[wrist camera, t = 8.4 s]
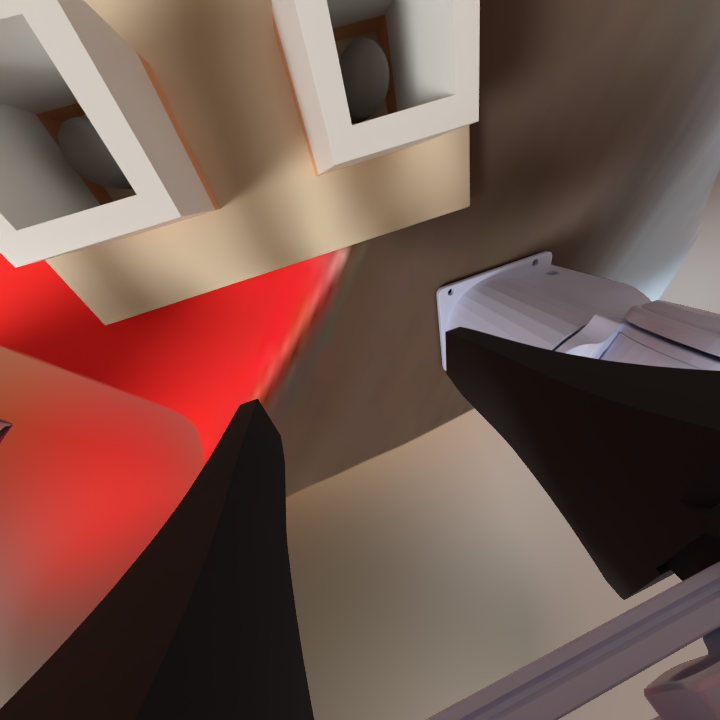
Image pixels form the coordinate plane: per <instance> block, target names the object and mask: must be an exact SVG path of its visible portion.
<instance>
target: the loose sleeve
mask: <svg viewBox="0 0 720 720" xmlns="http://www.w3.org/2000/svg"><path fill="white" fill-rule="evenodd" d="M271 1H272V16H273V28H274V32H275V35H276V39H277V42H278V46H279V49H280V53H281V56H282V60H283V63H284V67H285V70H286V74H287V77H288V81H289V84H290V88H291V91H292V95H293V98H294V102H295V105H296V109H297V112H298V116H299V119H300V123H301V126H302V130H303V133H304V137H305V140H306V144H307V147H308V151H309V154H310V157H311V161H312V164H313V168H314V171H315V175H316V176H319V175H322V174H326V173H329V172H332V171H335V170H339V169H342V168H345V167H348V166H352V165H355V164H358V163H361V162H365V161H368V160H371V159H374V158H378V157H381V156H384V155H387V154H391V153H394V152H397V151H400V150H404V149H407V148H410V147H412V146H415V145H417V144H420V143H423V142H425V141H428V140H430V139H433V138H436V137H438V136H441V135H444V134H446V133H449V132H451V131H454V130H457V129H459V128H462V127H464V126H467V125H470V124H472V123H475V122H477V121H479V33H480V0H271ZM372 31H377V38H378V45H379V46H380V47H381V49H382V50H383V52H384V54H385V56H386V59H387V61H388V66H389V86H388V91H387V94H386V103H387V110H388V115H385V116H382V117H378V118H375V119H372V120H368V121H365V122H362V123H358V124H355V125H352V123H351V118H350V113H349V108H348V103H347V98H346V93H345V88H344V84H343V79H342V74H341V69H340V64H339V59H338V54H337V49H336V44H335V42H336V41H340V40H343V39H347V38H351V37H354V36H358V35H362V34H365V33H369V32H372Z"/></svg>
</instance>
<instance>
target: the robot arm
mask: <svg viewBox="0 0 720 720" xmlns="http://www.w3.org/2000/svg"><path fill="white" fill-rule="evenodd" d="M533 261H534V263H533ZM551 262H552V253H551V252H548V251H544V252H541V253H538V254H535V255H533V256H530V257H527V258H524V259H521V260H518V261H515V262H512V263H509V264H506V265H504V266H501V267H498V268H495V269H492V270H489V271H486V272H483V273H480V274H477V275H475V276H472V277H469V278H466V279H463V280H460V281H457V282H454V283H451V284H449V285H446V286H443V287H441V288H439V290H438V291H437V306H438V318H439V329H440V341H441V353H442V365H443V368H444V370H446V373H447V375H448V376H449V378H450V379H451V381H452V382H453V383H454V385H455V386H456V387H457V389H458V390H459V391H460V393H461V394H462V395H463V396H464V397H465V398H466V399H467V400H468V401H469V402H470V404H471V405H472V406H473V407H474V408H475V409H476V410H477V411H478V412H479V413H480V414H481V415H482V416H483V417H484V418H485V419H486V420H487V421H488V422H489V423H490V424H491V425H492V426H493V427H494V428H495V429H496V430H497V431H498V433H499V434H500V435H501V436H502V437H503V438H504V439H505V440H506V441H507V442H508V443H509V445H510V446H511V447H512V448H513V449H514V450H515V452H516V453H517V454H518V456H519V457H520V458H521V459H522V461H523V462H524V463H525V465H526V466H527V467H528V468H529V470H530V471H531V472H532V474H533V475H534V476H535V477H536V479H537V480H538V481H539V483H540V484H541V486H542V487H543V488H544V490H545V491H546V492H547V493H548V495H549V496H550V497H551V499H552V500H553V502H554V503H555V505H556V506H557V507H558V509H559V510H560V512H561V513H562V515H563V516H564V517H565V519H566V520H567V522H568V523H569V524H570V526H571V527H572V529H573V530H574V532H575V533H576V535H577V536H578V538H579V539H580V541H581V543H582V544H583V546H584V547H585V549H586V550H587V552H588V553H589V554H590V556H591V558H592V559H593V561H594V562H595V564H596V565H597V567H598V569H599V570H600V572H601V573H602V575H603V577H604V578H605V580H606V581H607V582H608V583H609V584H610V586H611V587H612V588H613V589H614V590H615V591H616V592H617V594H618V595H619V596H620V597H621V598H622V599H624V600H625V599H627V598H629V597H631V596H633V595H634V594H637V593H638V592H640V591H642V590H644V589H646V588H648V587H650V586H652V585H654V584H656V583H657V582H659V581H661V580H663V579H665V578H667V577H669V576H671V575H672V574H674V573H675V574H676V575H677V576H678V577H679V578H680V579H681V580H682V582H680V583H679V584H677V585H675V586H673V587H671V588H670V589H667V590H666V591H664V592H662V593H660V594H658V595H656V596H655V597H653V598H651V599H649V600H647V601H645V602H643V603H641V604H640V605H638V606H636V607H634V608H632V609H630V610H628V611H627V612H625V613H623V614H621V615H619V616H617V617H615V618H614V619H612V620H610V621H608V622H606V623H604V624H602V625H601V626H599V627H597V628H595V629H593V630H591V631H589V632H587V633H586V634H584V635H582V636H580V637H578V638H576V639H575V640H573V641H571V642H569V643H567V644H565V645H563V646H562V647H560V648H558V649H556V650H554V651H552V652H550V653H549V654H547V655H545V656H543V657H541V658H539V659H537V660H536V661H534V662H532V663H530V664H528V665H526V666H524V667H522V668H521V669H519V670H517V671H515V672H513V673H511V674H509V675H508V676H506V677H504V678H502V679H500V680H498V681H497V682H495V683H493V684H491V685H489V686H487V687H485V688H483V689H482V690H480V691H478V692H476V693H474V694H472V695H470V696H469V697H467V698H465V699H463V700H461V701H459V702H457V703H456V704H454V705H452V706H450V707H448V708H446V709H444V710H442V711H441V712H439V713H437V714H435V715H433V716H431V717H430V718H428V719H426V720H558V719H560V718H562V717H563V716H565V715H567V714H569V713H570V712H572V711H574V710H576V709H577V708H579V707H581V706H582V705H584V704H586V703H588V702H590V701H591V700H593V699H595V698H596V697H598V696H600V695H602V694H603V693H605V692H607V691H609V690H610V689H612V688H614V687H616V686H617V685H619V684H621V683H622V682H624V681H626V680H628V679H629V678H631V677H633V676H635V675H636V674H638V673H640V672H642V671H643V670H645V669H647V668H649V667H650V666H652V665H654V664H655V663H657V662H659V661H661V660H663V659H664V658H666V657H668V656H670V655H671V654H673V653H675V652H677V651H678V650H680V649H682V648H684V647H685V646H687V645H689V644H690V643H692V642H694V641H696V640H697V639H699V638H701V637H703V640H704V643H705V645H706V647H707V649H708V655H705V656H702V657H699V658H696V659H693V660H690V661H687V662H684V663H682V664H679V665H677V666H675V667H673V668H671V669H670V670H668V671H666V672H664V673H663V674H661V675H660V676H659V677H658V678H657V679H656V680H654V681H653V682H652V683H651V684H650V685H648V686H647V687H646V688H645V689H644V695H645V697H646V698H647V700H648V701H649V702H650V704H651V705H652V706H653V708H654V709H655V710H656V712H657V713H658V714H659V716H657V717H656V718H653V719H651V720H720V314H716V313H712V312H708V311H704V310H700V309H696V308H692V307H688V306H684V305H679V304H675V303H671V302H666V301H661V300H656V301H653V302H651V301H650V299H649V298H648V297H646V296H645V295H644V294H643V293H642V292H640V291H639V290H637V289H635V288H634V287H632V286H629V285H627V284H624V283H620V282H616V281H612V280H609V279H605V278H601V277H597V276H593V275H589V274H585V273H582V272H578V271H574V270H570V269H566V268H562V267H558V266H554V265H551ZM532 263H533V264H532ZM450 289H452V290H451V292H450V293H449V294H448V291H449V290H450ZM0 720H314V717H313V711H312V706H311V700H310V695H309V690H308V683H307V678H306V672H305V666H304V661H303V655H302V649H301V642H300V635H299V629H298V623H297V616H296V609H295V602H294V595H293V587H292V580H291V572H290V563H289V555H288V546H287V534H286V496H285V461H284V454H283V447H282V441H281V435H280V434H279V432H278V431H277V429H276V427H275V426H274V424H273V423H272V421H271V419H270V418H269V416H268V415H267V413H266V411H265V410H264V408H263V407H262V405H261V403H260V402H259V400H258V399H255V400H253V401H250V402H247V403H244V404H241V405H240V406H239V408H238V409H237V411H236V413H235V415H234V416H233V418H232V420H231V422H230V423H229V425H228V427H227V429H226V431H225V432H224V434H223V436H222V438H221V439H220V441H219V443H218V444H217V446H216V448H215V450H214V451H213V453H212V455H211V456H210V458H209V460H208V461H207V463H206V464H205V466H204V468H203V469H202V471H201V472H200V474H199V475H198V477H197V479H196V480H195V482H194V483H193V485H192V486H191V488H190V489H189V491H188V492H187V494H186V495H185V497H184V498H183V500H182V501H181V503H180V504H179V505H178V507H177V508H176V510H175V511H174V512H173V514H172V515H171V516H170V518H169V519H168V520H167V522H166V523H165V524H164V526H163V527H162V528H161V530H160V531H159V532H158V534H157V535H156V536H155V538H154V539H153V540H152V541H151V543H150V544H149V545H148V546H147V547H146V549H145V550H144V551H143V552H142V554H141V555H140V556H139V557H138V558H137V560H136V561H135V562H134V563H133V564H132V566H131V567H130V568H129V569H128V570H127V572H126V573H125V574H124V575H123V577H122V578H121V579H120V580H119V582H118V583H117V584H116V585H115V586H114V588H113V589H112V590H111V591H110V592H109V593H108V595H107V596H106V597H105V598H104V599H103V600H102V601H101V602H100V603H99V604H98V606H97V607H96V608H95V609H94V610H93V611H92V612H91V614H90V615H89V616H88V617H87V618H86V619H85V620H84V621H83V623H82V624H81V625H80V626H79V627H78V628H77V629H76V630H75V631H74V632H73V633H72V635H71V636H70V637H69V638H68V639H67V640H66V641H65V642H64V643H63V644H62V645H61V646H60V648H59V649H58V650H57V651H56V652H55V653H54V654H53V655H52V656H51V657H50V658H49V659H48V660H47V662H46V663H45V664H44V665H43V666H42V667H41V668H40V669H39V670H38V671H37V672H36V673H35V674H34V675H33V676H32V677H31V678H30V679H29V680H28V681H27V682H26V683H25V684H24V685H23V686H22V687H21V688H20V689H19V691H18V692H17V693H16V694H15V695H14V696H13V697H12V698H11V699H10V700H9V701H8V702H7V703H6V704H5V705H4V706H3V707H2V708H1V709H0Z"/></svg>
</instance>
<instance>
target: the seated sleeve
mask: <svg viewBox="0 0 720 720" xmlns="http://www.w3.org/2000/svg"><path fill="white" fill-rule="evenodd" d="M83 115H87V117H88V118H89V120H90V122H91V123H92V125H93V126H94V128H95V129H96V131H97V133H98V134H99V136H100V137H101V139H102V140H103V142H104V144H105V145H106V147H107V148H108V150H109V152H110V153H111V155H112V156H113V158H114V159H115V161H116V163H117V164H118V166H119V167H120V169H121V170H122V172H123V174H124V175H125V177H126V178H127V180H128V181H129V183H130V185H131V186H132V188H133V189H134V191H135V193H136V194H137V195H134V196H131V197H127V198H124V199H121V200H117V201H113V200H112V198H111V197H110V195H109V194H108V192H107V191H106V189H105V188H104V186H100V185H98V184H95V183H93V182H91V181H90V180H88V179H86V178H85V177H83V176H82V175H81V174H79V173H78V172H77V171H76V170H75V169H74V168H73V167H72V166H71V165H70V164H69V163H68V161H67V160H66V158H65V157H64V155H63V153H62V151H61V149H60V146H59V142H58V132H59V128H60V127H61V124H60V122H62V121H65V120H68V119H70V118H73V117H79V116H83ZM218 209H220V207H219V205H218V202H217V200H216V198H215V196H214V194H213V192H212V190H211V188H210V186H209V184H208V182H207V180H206V178H205V176H204V174H203V172H202V170H201V168H200V166H199V164H198V162H197V160H196V157H195V155H194V153H193V151H192V149H191V147H190V145H189V143H188V141H187V139H186V137H185V135H184V133H183V131H182V129H181V127H180V125H179V123H178V121H177V119H176V117H175V115H174V112H173V110H172V108H171V106H170V104H169V102H168V100H167V98H166V96H165V94H164V92H163V90H162V88H161V86H160V84H159V82H158V80H157V78H156V76H155V74H154V72H153V70H152V67H151V65H150V64H149V63H148V62H147V61H146V60H145V59H144V58H143V57H142V56H140V55H139V54H138V53H137V52H136V51H135V50H134V49H133V48H132V47H131V46H130V45H129V44H128V43H127V42H126V41H125V40H124V39H123V38H122V37H121V36H120V35H119V34H118V33H117V32H116V31H115V30H114V29H113V28H112V27H111V26H110V25H109V24H108V23H107V22H106V21H105V20H104V19H102V18H101V17H100V16H99V15H98V14H97V13H96V12H95V11H94V10H93V9H92V8H91V7H90V6H89V5H88V4H87V3H86V2H85V1H84V0H0V253H1V254H2V255H3V256H4V257H5V258H6V259H7V260H8V261H9V262H10V263H11V264H12V265H13V266H14V267H15V268H16V267H20V266H24V265H28V264H31V263H35V262H39V261H42V260H46V259H50V258H54V257H57V256H61V255H65V254H68V253H72V252H76V251H80V250H83V249H87V248H91V247H95V246H98V245H102V244H106V243H109V242H113V241H117V240H121V239H124V238H127V237H130V236H133V235H137V234H140V233H143V232H146V231H150V230H153V229H156V228H159V227H163V226H166V225H169V224H172V223H176V222H179V221H182V220H185V219H189V218H192V217H195V216H198V215H202V214H205V213H208V212H211V211H215V210H218Z"/></svg>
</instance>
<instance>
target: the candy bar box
mask: <svg viewBox="0 0 720 720" xmlns="http://www.w3.org/2000/svg"><path fill="white" fill-rule="evenodd" d="M11 426H12V424H11V423H9V422H7V421H4V420H1V419H0V442H1V441H2V439H3V438H4V436H5V435H6V433H7V432H8V431H9V429H10V428H11Z"/></svg>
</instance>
